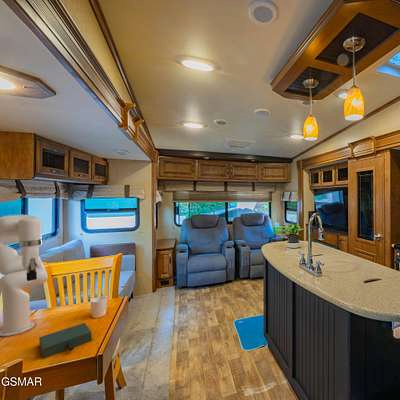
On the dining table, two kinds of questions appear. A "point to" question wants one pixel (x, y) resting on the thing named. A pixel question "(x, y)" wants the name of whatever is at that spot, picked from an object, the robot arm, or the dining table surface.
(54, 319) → the dining table surface
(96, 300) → the white cup
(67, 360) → the dining table surface
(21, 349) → the dining table surface
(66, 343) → the dustpan
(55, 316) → the dining table surface
